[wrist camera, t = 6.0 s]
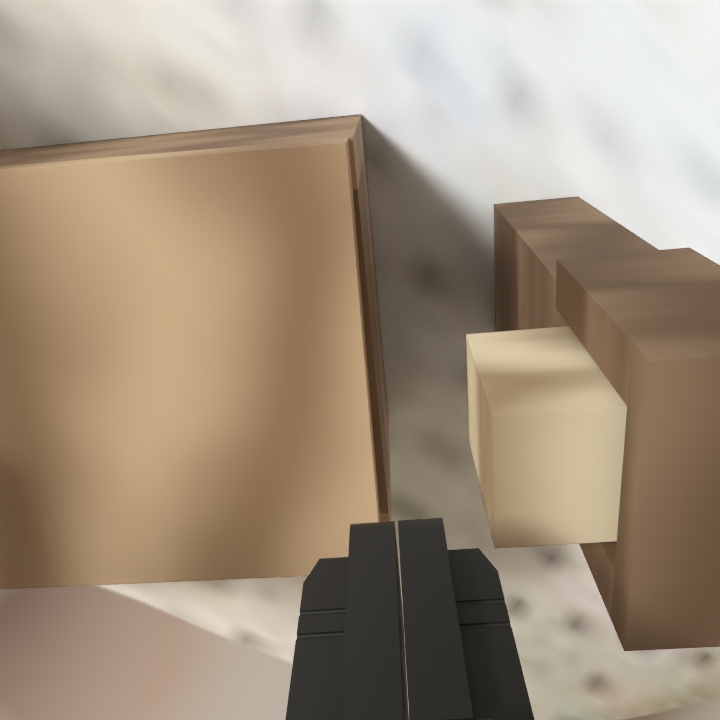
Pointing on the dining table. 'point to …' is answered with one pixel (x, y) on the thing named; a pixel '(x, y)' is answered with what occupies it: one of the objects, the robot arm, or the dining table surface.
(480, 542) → the dining table surface
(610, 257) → the brown wooden blocky piece
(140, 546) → the lid
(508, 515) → the wooden key
